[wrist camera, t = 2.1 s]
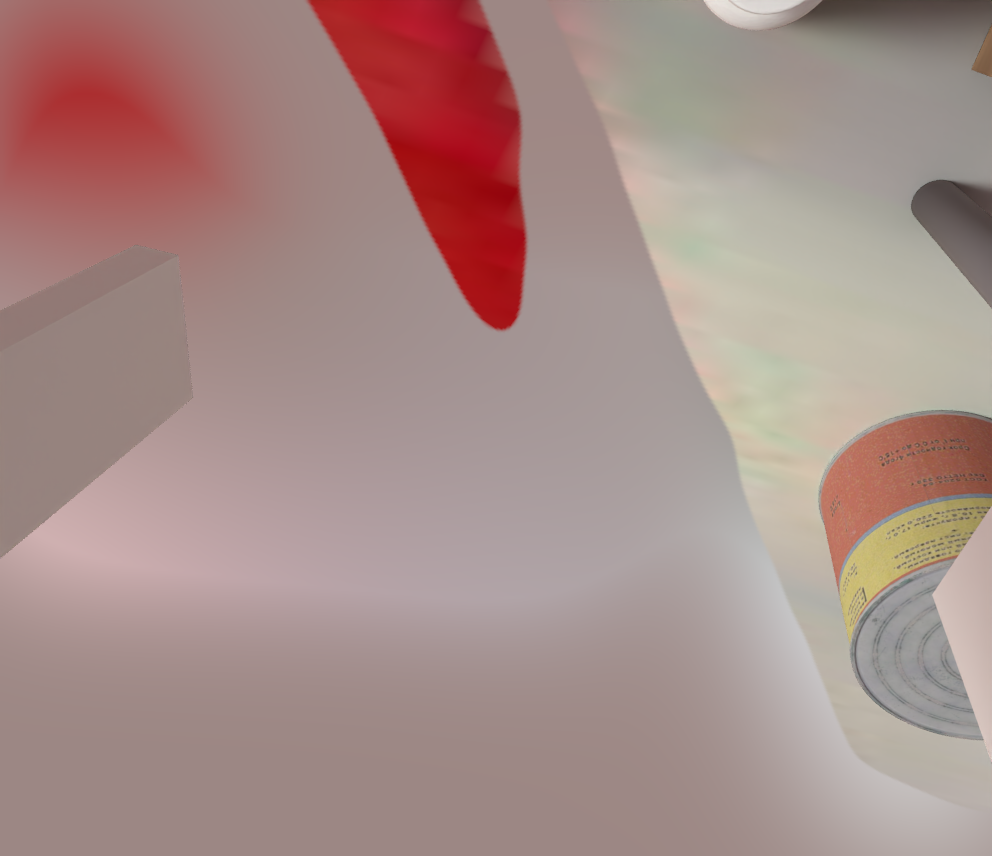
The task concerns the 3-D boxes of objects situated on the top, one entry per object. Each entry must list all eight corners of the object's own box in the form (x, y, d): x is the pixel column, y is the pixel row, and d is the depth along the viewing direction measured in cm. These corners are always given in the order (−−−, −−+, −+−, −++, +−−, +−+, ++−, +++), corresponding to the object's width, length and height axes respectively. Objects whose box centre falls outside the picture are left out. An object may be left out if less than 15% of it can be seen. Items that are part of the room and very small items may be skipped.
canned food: (804, 558, 46) (830, 718, 37) (837, 402, 41) (879, 541, 31) (1006, 581, 44) (1093, 759, 34) (1073, 418, 38) (1201, 575, 28)
